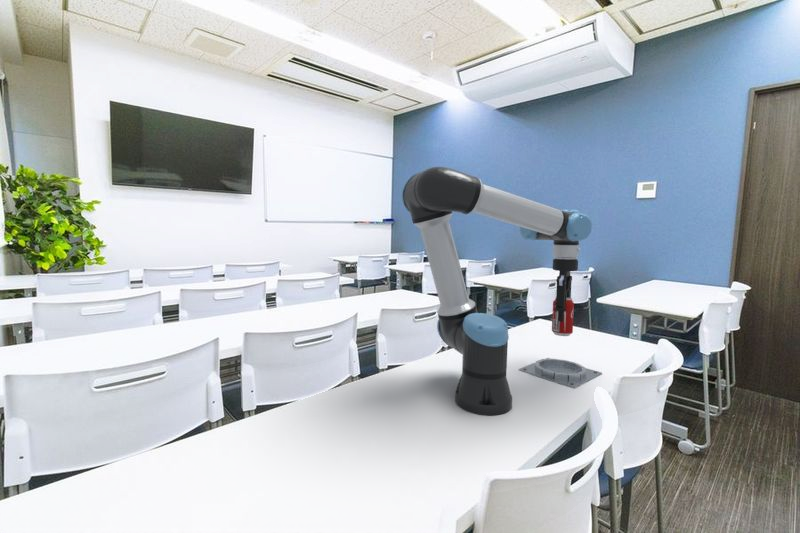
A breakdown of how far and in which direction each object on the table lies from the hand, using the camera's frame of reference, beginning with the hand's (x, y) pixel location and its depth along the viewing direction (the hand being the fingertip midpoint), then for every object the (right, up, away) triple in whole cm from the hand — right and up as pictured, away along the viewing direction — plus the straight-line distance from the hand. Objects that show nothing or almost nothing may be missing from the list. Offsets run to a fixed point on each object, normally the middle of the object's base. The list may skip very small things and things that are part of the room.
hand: (562, 328), depth 127 cm
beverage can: (0, -2, 0) cm, 2 cm away
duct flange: (0, -15, +1) cm, 15 cm away
